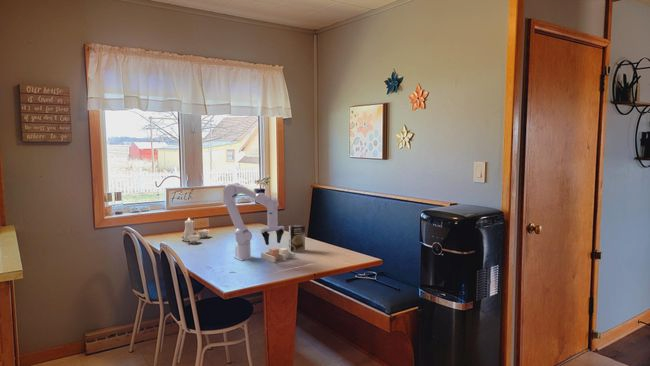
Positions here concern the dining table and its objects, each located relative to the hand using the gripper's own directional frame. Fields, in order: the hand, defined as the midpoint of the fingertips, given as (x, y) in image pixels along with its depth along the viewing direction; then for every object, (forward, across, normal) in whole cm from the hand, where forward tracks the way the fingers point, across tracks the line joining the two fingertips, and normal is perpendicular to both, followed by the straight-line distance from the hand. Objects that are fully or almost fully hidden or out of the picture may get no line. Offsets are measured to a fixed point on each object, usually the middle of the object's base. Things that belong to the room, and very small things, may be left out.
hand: (272, 243), depth 248 cm
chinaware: (+10, -15, +80) cm, 82 cm away
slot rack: (+10, +3, 0) cm, 10 cm away
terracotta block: (+9, 0, -1) cm, 9 cm away
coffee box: (+10, +22, +8) cm, 26 cm away
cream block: (+9, +7, -1) cm, 11 cm away
